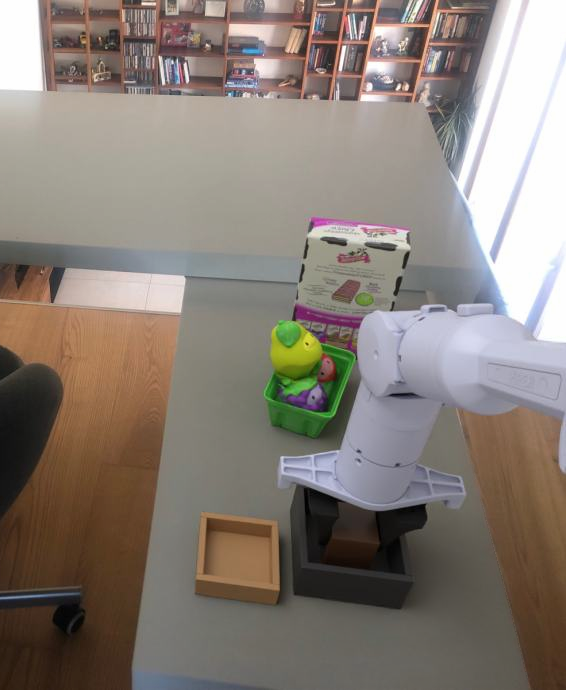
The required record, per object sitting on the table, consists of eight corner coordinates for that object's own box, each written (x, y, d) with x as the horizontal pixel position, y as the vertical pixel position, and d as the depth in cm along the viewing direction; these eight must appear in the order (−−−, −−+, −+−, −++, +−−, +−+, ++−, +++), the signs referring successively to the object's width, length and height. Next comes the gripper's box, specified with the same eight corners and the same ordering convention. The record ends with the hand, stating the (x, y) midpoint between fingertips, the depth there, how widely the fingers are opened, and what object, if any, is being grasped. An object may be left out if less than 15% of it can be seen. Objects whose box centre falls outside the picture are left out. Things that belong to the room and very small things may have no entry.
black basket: (400, 609, 61) (414, 582, 58) (293, 594, 62) (301, 567, 59) (386, 521, 68) (397, 493, 65) (289, 510, 69) (297, 481, 66)
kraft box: (275, 605, 61) (279, 590, 60) (194, 594, 62) (196, 579, 61) (274, 536, 67) (278, 520, 65) (199, 526, 68) (201, 511, 66)
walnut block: (367, 575, 63) (380, 543, 59) (321, 569, 63) (332, 538, 60) (362, 537, 66) (374, 505, 62) (318, 532, 66) (328, 500, 63)
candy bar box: (378, 338, 88) (412, 226, 78) (378, 363, 85) (413, 250, 74) (289, 323, 91) (310, 213, 80) (285, 347, 87) (306, 235, 77)
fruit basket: (324, 451, 74) (346, 374, 67) (245, 424, 78) (257, 348, 70) (348, 385, 82) (370, 309, 75) (275, 363, 85) (289, 289, 78)
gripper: (470, 412, 56) (423, 512, 65) (287, 393, 58) (266, 493, 67) (492, 481, 51) (438, 580, 60) (290, 458, 53) (267, 557, 62)
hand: (347, 539), depth 63 cm, fingers open, 4 cm apart
